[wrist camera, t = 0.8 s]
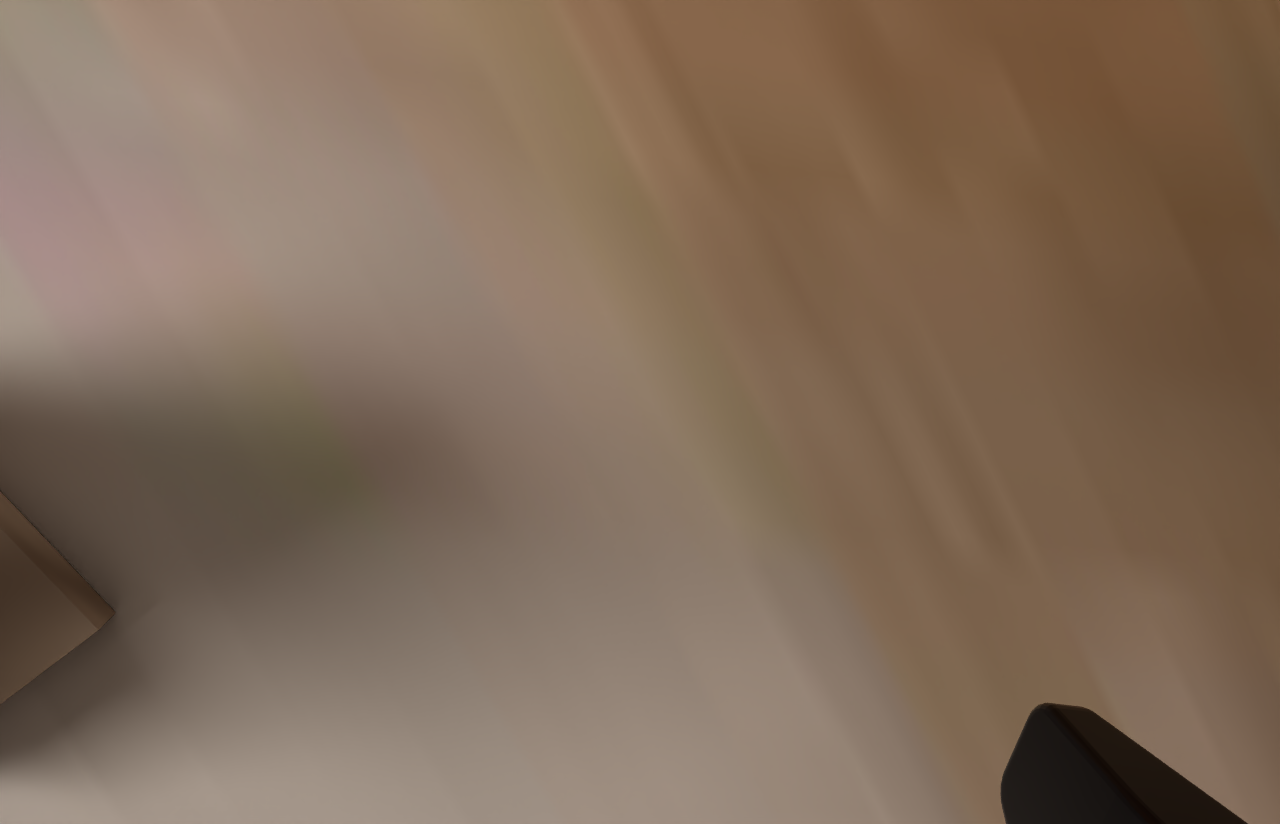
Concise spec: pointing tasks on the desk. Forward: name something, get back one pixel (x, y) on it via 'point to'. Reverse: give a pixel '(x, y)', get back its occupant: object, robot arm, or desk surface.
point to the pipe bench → (39, 603)
